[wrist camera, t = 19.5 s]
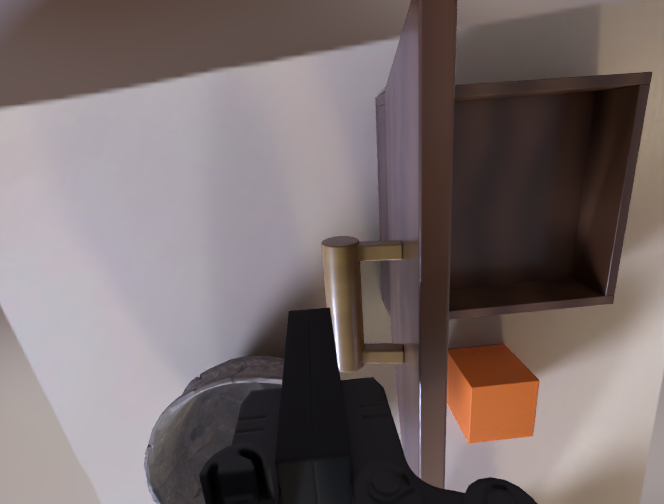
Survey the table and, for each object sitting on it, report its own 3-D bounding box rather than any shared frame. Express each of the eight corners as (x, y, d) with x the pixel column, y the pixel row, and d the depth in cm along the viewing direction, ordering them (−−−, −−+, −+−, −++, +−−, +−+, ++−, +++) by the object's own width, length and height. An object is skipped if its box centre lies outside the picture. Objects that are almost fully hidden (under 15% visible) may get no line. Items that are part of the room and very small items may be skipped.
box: (598, 81, 36) (652, 71, 30) (572, 281, 42) (613, 303, 37) (375, 97, 35) (388, 89, 29) (381, 299, 41) (394, 325, 36)
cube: (504, 343, 44) (539, 380, 37) (500, 393, 46) (533, 436, 39) (446, 349, 44) (471, 387, 37) (444, 399, 46) (468, 443, 39)
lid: (458, -35, 8) (258, -11, 8) (441, 630, 14) (328, 621, 14) (395, 88, 29) (341, 93, 29) (399, 327, 35) (355, 327, 36)
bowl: (149, 346, 41) (102, 409, 31) (331, 302, 41) (340, 352, 31) (210, 485, 47) (186, 573, 38) (368, 447, 47) (385, 525, 38)
